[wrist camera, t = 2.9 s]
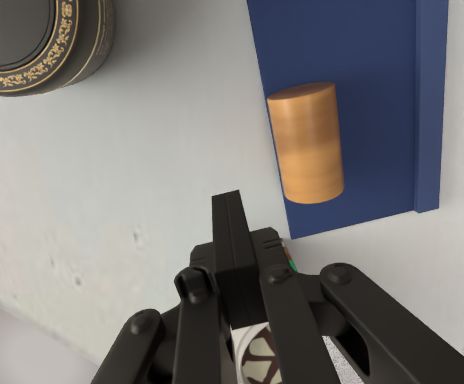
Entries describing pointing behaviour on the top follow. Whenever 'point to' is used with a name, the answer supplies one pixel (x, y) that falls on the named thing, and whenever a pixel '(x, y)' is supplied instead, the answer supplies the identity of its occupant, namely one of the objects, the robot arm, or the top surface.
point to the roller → (308, 141)
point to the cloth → (364, 97)
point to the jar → (52, 43)
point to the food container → (257, 351)
